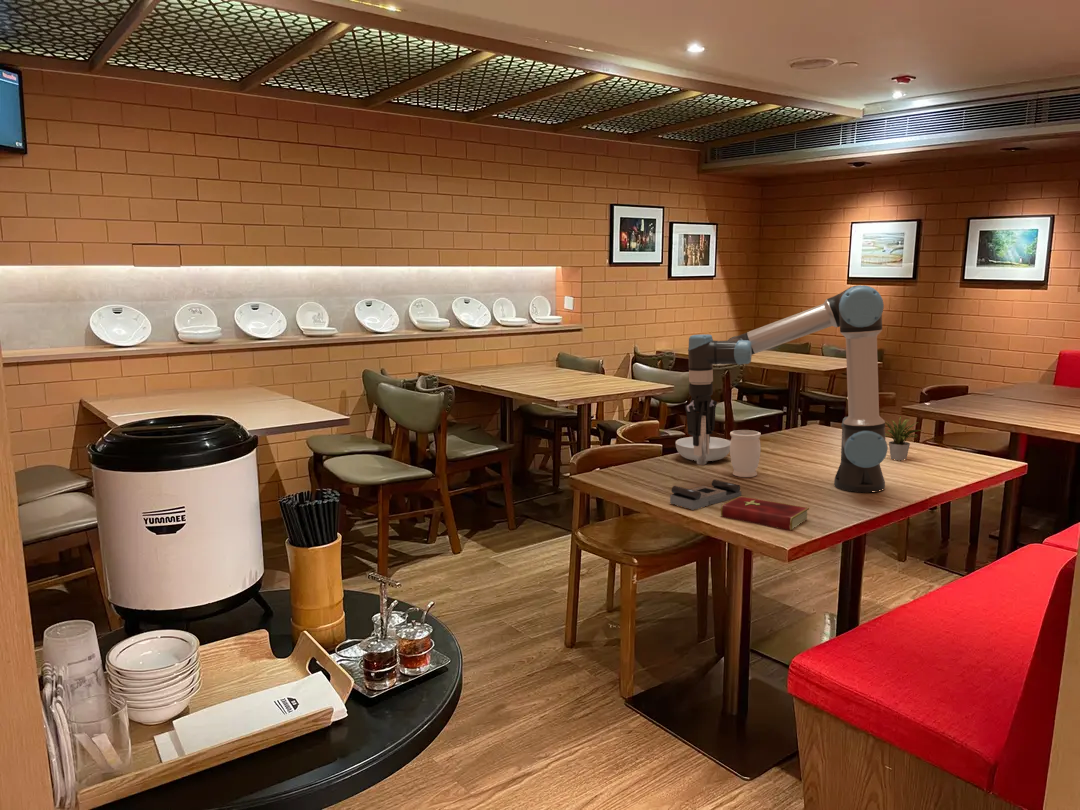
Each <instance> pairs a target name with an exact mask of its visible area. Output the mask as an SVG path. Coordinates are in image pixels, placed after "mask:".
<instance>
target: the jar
mask: <svg viewBox="0 0 1080 810" xmlns="http://www.w3.org/2000/svg"><path fill="white" fill-rule="evenodd" d="M729 435H730V437H731V439H730V452H729V455H730V456H729V457H730V462H731V466H732V469H733V471H732V473H731V474H732V475H733V476H735V477H739V478H753V477H756V476H757V475H758V471H756V470H757V469H758V466H759V463H760V457H761V450H762V449H761V440H760V437H761V431H760V432H759V431H756V430H752V429H751V430H749V429H738V430H732V431H730V433H729Z"/></svg>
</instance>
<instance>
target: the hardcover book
mask: <svg viewBox="0 0 1080 810" xmlns="http://www.w3.org/2000/svg"><path fill="white" fill-rule="evenodd" d="M809 510H810V507H806V506H800V505H795V504H789V503H783V502H778V501H773V500H772V501H771V500H766V499H761V498H760V499H758V498H753V497H749V496H742V495H741V496H739V497H736V498H732V499H730V500H729V501H727V502H726V501H725V502H724V503H722V504H721V506H720V517H722V518H725V517H726V519H731V520H737V521H742V522H746V523H752V524H756V525H761V526H766V525H767V527H771V526H772V527H771V528H776V527H778V528H777V529H781V528H782V529H781V530H786V529H787V531H791V530H792V531H793V529H795V528H796V527H798V526H799V524H800V523H801V524H803V523H804V522H806V521H807V520H808V511H809ZM806 519H807V520H806ZM805 520H806V521H805ZM803 521H804V522H803ZM802 522H803V523H802ZM801 524H800V525H801ZM797 525H798V526H797ZM794 527H795V528H794Z"/></svg>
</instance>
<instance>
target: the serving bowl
mask: <svg viewBox="0 0 1080 810" xmlns="http://www.w3.org/2000/svg"><path fill="white" fill-rule="evenodd" d="M730 442H731V440H730V439H725V438H721V437H715V436H710V443H709V454H706V463H709V462H708V461H712V462H714V461H718V460H722V459H724V458H725V457H727V456H728V455H729V454H730ZM675 448H676V450H677V452H678V454H679V455H680V456H681V457H683V458H685V459H687V460H690V461H693V460H694V461H693V462H697V455H694V446H693V436H689V437H683V438H682V437H681V438H679V439H677V440H675Z"/></svg>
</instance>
